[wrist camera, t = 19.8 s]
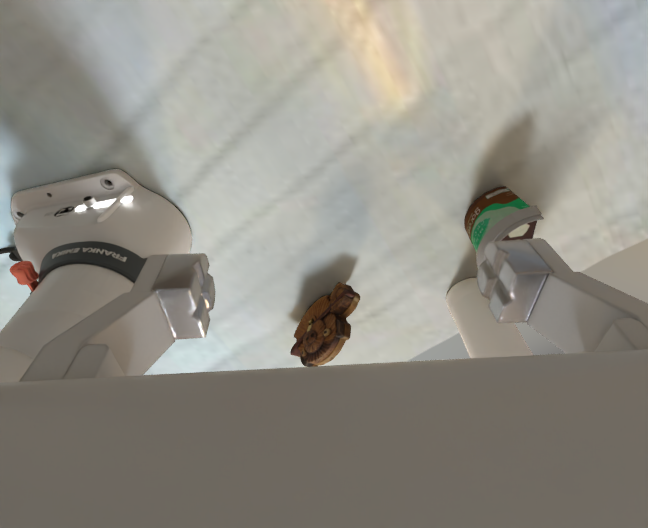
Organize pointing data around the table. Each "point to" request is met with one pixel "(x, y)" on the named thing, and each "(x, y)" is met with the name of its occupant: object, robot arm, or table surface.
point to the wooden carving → (325, 327)
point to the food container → (499, 219)
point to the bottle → (482, 324)
